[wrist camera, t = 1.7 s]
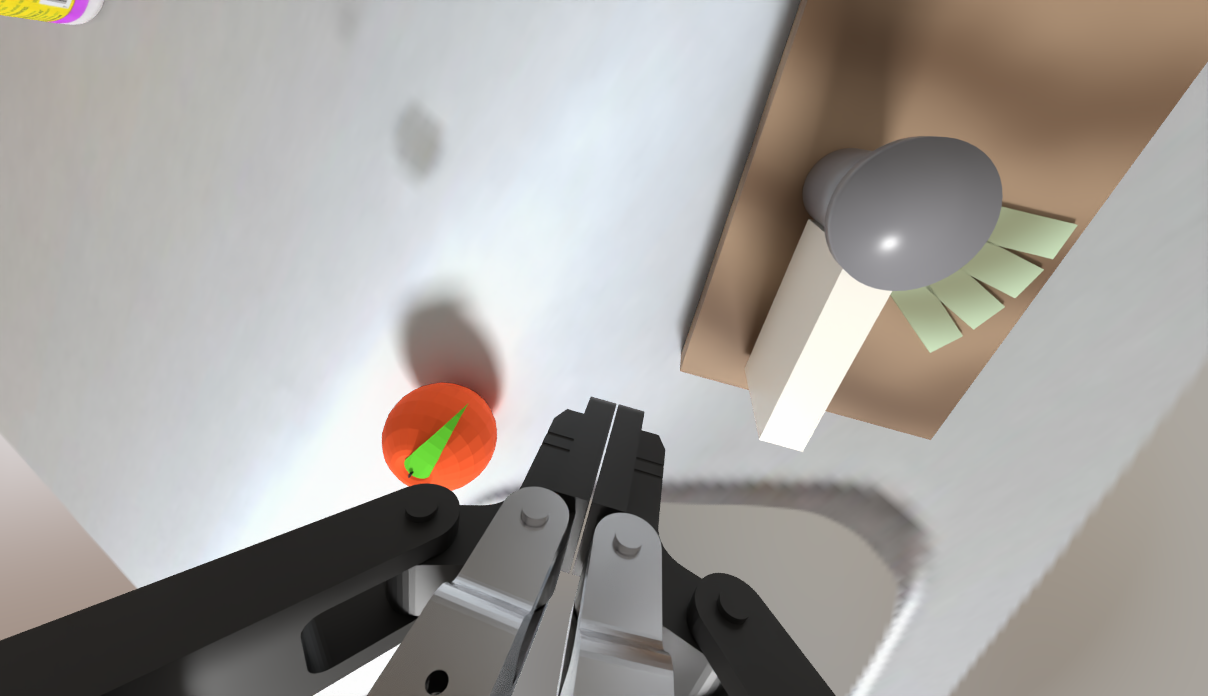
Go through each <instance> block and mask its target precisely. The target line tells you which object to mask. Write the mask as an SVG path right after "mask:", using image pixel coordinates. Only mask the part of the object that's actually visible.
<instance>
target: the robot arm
mask: <svg viewBox="0 0 1208 696" xmlns="http://www.w3.org/2000/svg"><path fill="white" fill-rule="evenodd" d="M615 407H616V404H615V403H612V402H608V401H605V400H601V399H598V398H594V397H591V398H590V400H589V403H588V405H587V408H586V410H585V413H584V414H583V413H579V412H576V411H572V410H569V409H567V410H565V411H564V412H562V413H561V414H559V415H558V416H557V417H555V418H554V420H553V422H552V424H551V426H550V428H549V430H548V433H547V434H546V436H545V438H544V440H543V443H542V445H541V447H540V449H539V451H538V453H537V455H536V457H535V459H534V461H533V463H532V465H531V467H530V469H529V471H528V473H527V476H526V478H525V480H524V482H523V484H522V486H521V487H520V489H519V490H516V491H515V492H513V493H511V494H510V495H509V496H508V497H507V498H506V499H505V501H503V502H500V503H497V504H492V505H459V501H458V499H457V497H456V495H455V494H454V493H453V492H452V491H451V490H449V489H448V488H446V487H444V486H441V485H437V484H430V483H424V484H416V485H412V486H409V487H406V488H404V489H401V490H398V491H396V492H393V493H390V494H388V495H385V496H382V497H380V498H377V499H374V500H372V501H369V502H366V503H364V504H361V505H358V506H356V507H353V508H351V509H348V510H345V511H343V512H340V513H337V514H335V515H332V516H329V517H327V518H324V519H321V520H319V521H316V522H313V523H311V524H308V525H305V526H303V527H300V528H298V529H295V530H292V531H290V532H287V533H284V534H282V535H279V536H276V537H274V538H271V539H268V540H266V541H263V542H260V543H258V544H255V545H253V546H250V547H247V548H245V549H242V550H239V551H237V552H234V553H231V554H229V555H226V556H223V557H221V558H218V559H215V560H213V561H210V562H207V563H205V564H202V565H200V566H197V567H194V568H192V569H189V570H186V571H184V572H181V573H178V574H176V575H173V576H170V577H168V578H165V579H162V580H160V581H157V582H154V583H152V584H149V585H147V586H144V587H141V588H139V589H136V590H133V591H131V592H128V593H125V594H123V595H120V596H117V597H115V598H112V599H109V600H107V601H104V602H101V603H99V604H96V605H94V606H91V607H88V608H86V609H83V610H80V611H78V612H75V613H72V614H70V615H67V616H64V617H62V618H59V619H56V620H54V621H51V622H49V623H46V624H43V625H41V626H38V627H36V628H33V629H30V630H27V631H25V632H22V633H20V634H17V635H14V636H11V637H9V638H6V639H4V640H1V641H0V696H313V695H314V694H316V693H318V692H319V691H321V690H323V689H325V688H326V687H328V686H330V685H331V684H333V683H335V682H336V681H338V680H340V679H341V678H343V677H345V676H346V675H348V674H350V673H351V672H353V671H355V670H356V669H358V668H360V667H361V666H363V665H365V664H366V663H368V662H370V661H372V660H373V659H375V658H377V657H378V656H380V655H382V654H383V653H385V652H387V651H388V650H390V649H392V648H393V647H395V646H397V645H398V644H400V643H401V644H400V646H399V647H398V649H397V650H396V652H395V653H394V655H393V656H392V658H391V659H390V661H389V663H388V664H387V666H386V667H385V669H384V670H383V672H382V673H381V675H380V676H379V678H378V679H377V681H376V682H375V684H374V685H373V687H372V689H371V690H370V692H369V693H368V695H367V696H512V695H513V692H514V689H515V687H516V684H517V681H518V679H519V677H520V674H521V671H522V669H523V666H524V664H525V661H526V659H527V656H528V654H529V651H530V649H531V646H532V643H533V641H534V638H535V636H536V633H537V631H538V628H539V626H540V623H541V621H542V618H543V616H544V613H545V610H546V608H547V605H548V602H549V599H550V598H551V596H552V595H553V592H554V590H555V587H556V584H557V580H558V577H559V574H560V571H563V572H567V573H569V572H570V568H571V565H572V561H573V558H574V554H575V551H576V547H577V543H578V540H579V536H580V533H581V529H582V526H583V522H584V519H585V515H586V512H587V508H588V505H589V501H590V498H591V494H592V491H593V487H594V484H595V480H596V476H597V473H598V469H599V466H600V462H601V459H602V455H603V451H604V448H605V444H606V440H607V437H608V433H609V429H610V426H611V422H612V418H613V415H614V411H615ZM643 418H644V411H640V410H637V409H633V408H630V407H626V406H623V405H618V409H617V413H616V416H615V420H614V424H613V427H612V431H611V434H610V438H609V442H608V445H607V449H606V453H605V456H604V460H603V463H602V467H601V471H600V474H599V478H598V482H597V485H596V489H595V493H594V496H593V500H592V504H591V507H590V511H589V515H588V518H587V522H586V525H585V529H584V532H583V536H582V540H581V544H580V547H579V551H578V554H577V558H576V562H575V565H574V569H573V572H572V574H574V575H577V576H580V581H579V585H578V589H577V593H576V597H575V600H574V603H573V607H572V610H571V615H570V620H569V626H568V632H567V637H566V643H565V649H564V655H563V660H562V665H561V671H560V677H559V682H558V688H557V694H556V696H835V694H834V693H833V692H832V690H831V689H830V688H829V686H828V685H827V684H826V683H825V681H824V680H823V679H822V677H821V676H820V675H819V673H818V672H817V671H816V670H815V668H814V667H813V666H812V664H811V663H810V662H809V660H808V659H807V658H806V657H805V656H804V654H803V653H802V651H801V650H800V649H799V647H798V646H797V645H796V644H795V642H794V641H793V640H792V638H791V637H790V636H789V635H788V633H787V632H786V631H785V629H784V628H783V627H782V625H781V624H780V623H779V621H778V620H777V619H776V617H775V616H774V615H773V614H772V612H771V611H770V610H769V608H768V607H767V606H766V604H765V603H764V602H763V601H762V599H761V598H760V597H759V595H758V594H757V593H756V592H755V591H754V590H753V589H752V588H751V587H750V586H749V585H748V584H746V583H745V582H744V581H742V580H740V579H739V578H737V577H734V576H732V575H729V574H725V573H713V574H710V575H707V576H706V577H704V578H703V579H701V578H700V577H698V576H697V575H695V574H693V573H692V572H690V571H689V570H687V569H685V568H684V567H683V566H681V565H680V564H678V563H677V562H676V561H675V560H674V559H672V557H671V556H670V555H669V554H668V553H667V551H666V550H665V548H664V547H663V545H662V543H661V540H660V537H659V532H658V523H659V511H660V501H661V491H662V478H663V469H664V468H663V466H664V458H665V448H664V446H663V444H662V442H661V439H660V437H659V435H656V434H653V433H649V432H646V431H642V430H641V429H642V423H643Z"/></svg>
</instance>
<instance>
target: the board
mask: <svg viewBox="0 0 1208 696" xmlns="http://www.w3.org/2000/svg"><path fill="white" fill-rule="evenodd" d="M1207 62H1208V0H801V1H800V4H799V7H798V10H797V13H796V16H795V19H794V22H793V25H792V28H791V31H790V34H789V37H788V40H787V43H786V45H785V48H784V51H783V54H782V57H781V60H780V63H779V66H778V69H777V72H776V75H775V78H774V81H773V84H772V87H771V90H770V93H769V96H768V99H767V102H766V105H765V108H764V111H763V114H762V116H761V119H760V122H759V125H758V128H757V131H756V134H755V137H754V140H753V143H752V146H751V149H750V152H749V155H748V158H747V161H746V164H745V167H744V170H743V173H742V176H741V179H740V182H739V185H738V187H737V190H736V193H735V196H734V199H733V202H732V205H731V208H730V211H729V214H728V217H727V220H726V223H725V226H724V229H723V232H722V235H721V238H720V241H719V244H718V247H717V250H716V253H715V256H714V259H713V261H712V264H711V267H710V270H709V273H708V276H707V279H706V282H705V285H704V288H703V291H702V294H701V297H700V300H699V303H698V306H697V309H696V312H695V315H694V318H693V321H692V324H691V327H690V330H689V332H688V335H687V338H686V341H685V344H684V347H683V350H682V353H681V363H680V371H682V372H685V373H689V374H693V375H696V376H700V377H703V378H707V379H711V380H714V381H718V382H722V383H725V384H729V385H733V386H736V387H740V388H744V389H747V390H749V388H748V383H747V378H746V373H745V367H746V364H747V362H748V360H749V357H750V355H751V353H752V350H753V348H754V346H755V343H756V341H757V339H758V336H759V334H760V332H761V329H762V327H763V324H764V322H765V320H766V317H767V315H768V313H769V310H770V308H771V306H772V303H773V301H774V299H775V296H776V294H777V292H778V289H779V287H780V285H781V282H782V280H783V277H784V275H785V273H786V270H787V268H788V266H789V263H790V261H791V259H792V256H793V254H794V252H795V249H796V247H797V245H798V242H799V240H800V238H801V235H802V233H803V231H804V228H805V226H806V223H807V221H808V219H811V220H814V219H813V218H812V217H811V216H810V215H809V213H808V212H807V210H806V209H805V206H804V203H803V195H802V194H803V186H804V183H805V180H806V177H807V175H808V174H809V172H810V170H811V169H812V168H813V166H814V165H815V164H816V163H817V162H818V161H819V160H821V159H822V158H823V157H825V156H826V155H828V154H830V153H832V152H834V151H836V150H840V149H844V148H857V149H864V150H870V151H874V150H876V149H877V148H879V147H882V146H884V145H886V144H888V143H891V142H893V141H896V140H900V139H904V138H908V137H916V136H937V137H949V138H955V139H959V140H962V141H965V142H968V143H970V144H972V145H974V146H976V147H977V148H979V149H980V150H981V151H983V152H984V153H985V154H986V155H987V156H988V157H989V158H990V159H991V160H992V162H993V164H994V165H995V167H996V168H997V171H998V173H999V176H1000V179H1001V184H1002V194H1003V199H1002V207H1001V211H1000V215H999V219H998V221H997V224H996V226H995V229H994V230H993V232H992V234H991V236H990V238H989V239H988V241H987V242H986V243H985V245H984V246H983V248H982V249H981V250H980V251H979V252H978V253H977V254H976V255H975V257H973V258H972V259H971V260H970V261H969V262H968V263H967V264H966V265H964V266H963V267H962V268H960V269H959V270H958V271H956V272H955V273H953V274H952V275H950V276H948V277H947V278H944V279H942V280H940V281H938V282H936V283H933V284H931V285H928V286H925V287H921V288H917V289H912V290H906V291H892V293H891V294H890V296H889V298H888V300H887V301H886V303H885V305H884V307H883V309H882V310H881V312H880V314H879V316H878V318H877V319H876V321H875V323H874V325H873V326H872V328H871V330H870V332H869V334H868V335H867V337H866V339H865V341H864V343H863V344H862V346H861V348H860V350H859V351H858V353H857V355H856V357H855V359H854V360H853V362H852V364H851V366H850V368H849V369H848V371H847V373H846V375H845V376H844V378H843V380H842V382H841V384H840V385H839V387H838V389H837V391H836V393H835V394H834V396H833V398H832V400H831V402H830V403H829V405H828V407H827V409H826V410H825V411H827V412H831V413H835V414H838V415H842V416H845V417H849V418H853V419H856V420H860V421H864V422H867V423H871V424H875V425H878V426H882V427H886V428H889V429H893V430H896V431H900V432H904V433H907V434H911V435H915V436H918V437H922V438H926V439H929V440H931V439H932V437H933V436H934V435H935V433H936V432H937V431H938V429H939V428H940V426H941V425H942V424H943V422H944V421H945V420H946V418H947V417H948V416H949V414H950V413H951V411H952V410H953V409H954V407H955V406H956V405H957V403H958V402H959V401H960V399H961V398H962V396H963V395H964V394H965V392H966V391H967V390H968V388H969V387H970V385H971V384H972V383H973V381H974V380H975V379H976V377H977V376H978V375H979V373H980V372H981V370H982V369H983V368H984V366H985V365H986V364H987V362H988V361H989V360H990V358H991V357H992V355H993V354H994V353H995V351H996V350H997V349H998V347H999V346H1000V344H1001V343H1002V342H1003V340H1004V339H1005V338H1006V336H1007V335H1008V334H1009V332H1010V331H1011V329H1012V328H1013V327H1014V325H1015V324H1016V323H1017V321H1018V320H1019V319H1020V317H1021V316H1022V314H1023V313H1024V312H1025V310H1026V309H1027V308H1028V306H1029V305H1030V303H1031V302H1032V301H1033V299H1034V298H1035V297H1036V295H1037V294H1038V293H1039V291H1040V290H1041V288H1042V287H1043V286H1044V284H1045V283H1046V282H1047V280H1048V279H1049V278H1050V276H1051V275H1052V273H1053V272H1054V271H1055V269H1056V268H1057V267H1058V265H1059V264H1060V263H1061V261H1062V260H1063V258H1064V257H1065V256H1066V254H1067V253H1068V252H1069V250H1070V249H1071V247H1072V246H1073V245H1074V243H1075V242H1076V241H1077V239H1078V238H1079V237H1080V235H1081V234H1082V232H1083V231H1084V230H1085V228H1086V227H1087V226H1088V224H1089V223H1090V222H1091V220H1092V219H1093V217H1094V216H1095V215H1096V213H1097V212H1098V211H1099V209H1100V208H1101V206H1102V205H1103V204H1104V202H1105V201H1106V200H1107V198H1108V197H1109V196H1110V194H1111V193H1112V191H1113V190H1114V189H1115V187H1116V186H1117V185H1118V183H1119V182H1120V181H1121V179H1122V178H1123V176H1124V175H1125V174H1126V172H1127V171H1128V170H1129V168H1130V167H1131V165H1132V164H1133V163H1134V161H1135V160H1136V159H1137V157H1138V156H1139V155H1140V153H1141V152H1142V150H1143V149H1144V148H1145V146H1146V145H1147V144H1148V142H1149V141H1150V140H1151V138H1152V137H1153V135H1154V134H1155V133H1156V131H1157V130H1158V129H1159V127H1160V126H1161V124H1162V123H1163V122H1164V120H1165V119H1166V118H1167V116H1168V115H1169V114H1170V112H1171V111H1172V109H1173V108H1174V107H1175V105H1176V104H1177V103H1178V101H1179V100H1180V99H1181V97H1182V96H1183V94H1184V93H1185V92H1186V90H1187V89H1188V88H1189V86H1190V85H1191V83H1192V82H1193V81H1194V79H1195V78H1196V77H1197V75H1198V74H1199V73H1200V71H1201V70H1202V68H1203V67H1204V66H1205V64H1206V63H1207ZM815 221H816V220H815Z"/></svg>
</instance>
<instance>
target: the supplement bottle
mask: <svg viewBox="0 0 1208 696" xmlns="http://www.w3.org/2000/svg"><path fill="white" fill-rule="evenodd" d="M103 3H104V0H0V15H4V16H11V17H18V18H25V19H32V20H39V21H45V22H52V23H60V24H82V23H86V22H88V21H89V20H91V19H92V18H94V17H95V16H96V15H97V14H98V12H99V11H100V9H101V8H102V6H103Z"/></svg>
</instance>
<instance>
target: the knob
mask: <svg viewBox="0 0 1208 696" xmlns="http://www.w3.org/2000/svg"><path fill="white" fill-rule="evenodd" d="M802 195H803V203H804V206H805V209H806V210H807V212H808V213H809V215H810V216H811V217H812V218H813V219H814V220H811V219H808V221H807V223H806V226H805V228H804V231H803V233H802V235H801V238H800V240H799V242H798V245H797V247H796V249H795V252H794V254H793V256H792V259H791V261H790V263H789V266H788V268H787V270H786V273H785V275H784V277H783V280H782V282H781V285H780V287H779V289H778V292H777V294H776V296H775V299H774V301H773V303H772V306H771V308H770V310H769V313H768V315H767V317H766V320H765V322H764V324H763V327H762V329H761V332H760V334H759V336H758V339H757V341H756V343H755V346H754V348H753V350H752V353H751V355H750V357H749V360H748V362H747V364H746V367H745V373H746V378H747V383H748V388H749V392H750V397H751V402H752V407H753V412H754V417H755V422H756V426H757V431H758V436H759V440H763V441H766V442H770V443H773V444H777V445H780V446H784V447H788V448H791V449H795V450H798V451H802V452H803V450H804V448H805V446H806V444H807V443H808V441H809V439H810V437H811V435H812V434H813V432H814V430H815V428H816V427H817V425H818V423H819V421H820V419H821V418H822V416H823V414H824V412H825V410H826V409H827V407H828V405H829V403H830V402H831V400H832V398H833V396H834V394H835V393H836V391H837V389H838V387H839V385H840V384H841V382H842V380H843V378H844V376H845V375H846V373H847V371H848V369H849V368H850V366H851V364H852V362H853V360H854V359H855V357H856V355H857V353H858V351H859V350H860V348H861V346H862V344H863V343H864V341H865V339H866V337H867V335H868V334H869V332H870V330H871V328H872V326H873V325H874V323H875V321H876V319H877V318H878V316H879V314H880V312H881V310H882V309H883V307H884V305H885V303H886V301H887V300H888V298H889V296H890V294H891V293H892V291H906V290H912V289H917V288H921V287H925V286H928V285H931V284H933V283H936V282H938V281H940V280H942V279H944V278H947V277H948V276H950V275H952V274H953V273H955V272H956V271H958V270H959V269H960V268H962V267H963V266H964V265H966V264H967V263H968V262H969V261H970V260H971V259H972V258H973V257H975V255H976V254H977V253H978V252H979V251H980V250H981V249H982V248H983V246H984V245H985V243H986V242H987V241H988V239H989V238H990V236H991V234H992V232H993V230H994V229H995V226H996V224H997V221H998V219H999V215H1000V211H1001V207H1002V199H1003V194H1002V184H1001V179H1000V176H999V173H998V171H997V168H996V167H995V165H994V164H993V162H992V160H991V159H990V158H989V157H988V156H987V155H986V154H985V153H984V152H983V151H981V150H980V149H979V148H977V147H976V146H974V145H972V144H970V143H968V142H965V141H962V140H959V139H955V138H949V137H937V136H916V137H908V138H904V139H900V140H896V141H893V142H891V143H888V144H886V145H884V146H882V147H879V148H877V149H876V150H874V151H870V150H864V149H857V148H844V149H840V150H836V151H834V152H832V153H830V154H828V155H826V156H825V157H823V158H822V159H821V160H819V161H818V162H817V163H816V164H815V165H814V166H813V168H812V169H811V170H810V172H809V174H808V175H807V177H806V180H805V183H804V186H803V194H802ZM815 220H816V221H815Z"/></svg>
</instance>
